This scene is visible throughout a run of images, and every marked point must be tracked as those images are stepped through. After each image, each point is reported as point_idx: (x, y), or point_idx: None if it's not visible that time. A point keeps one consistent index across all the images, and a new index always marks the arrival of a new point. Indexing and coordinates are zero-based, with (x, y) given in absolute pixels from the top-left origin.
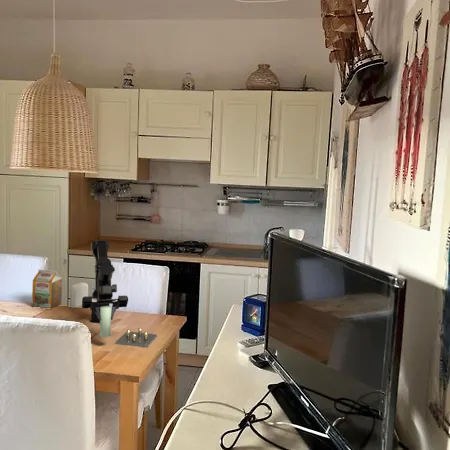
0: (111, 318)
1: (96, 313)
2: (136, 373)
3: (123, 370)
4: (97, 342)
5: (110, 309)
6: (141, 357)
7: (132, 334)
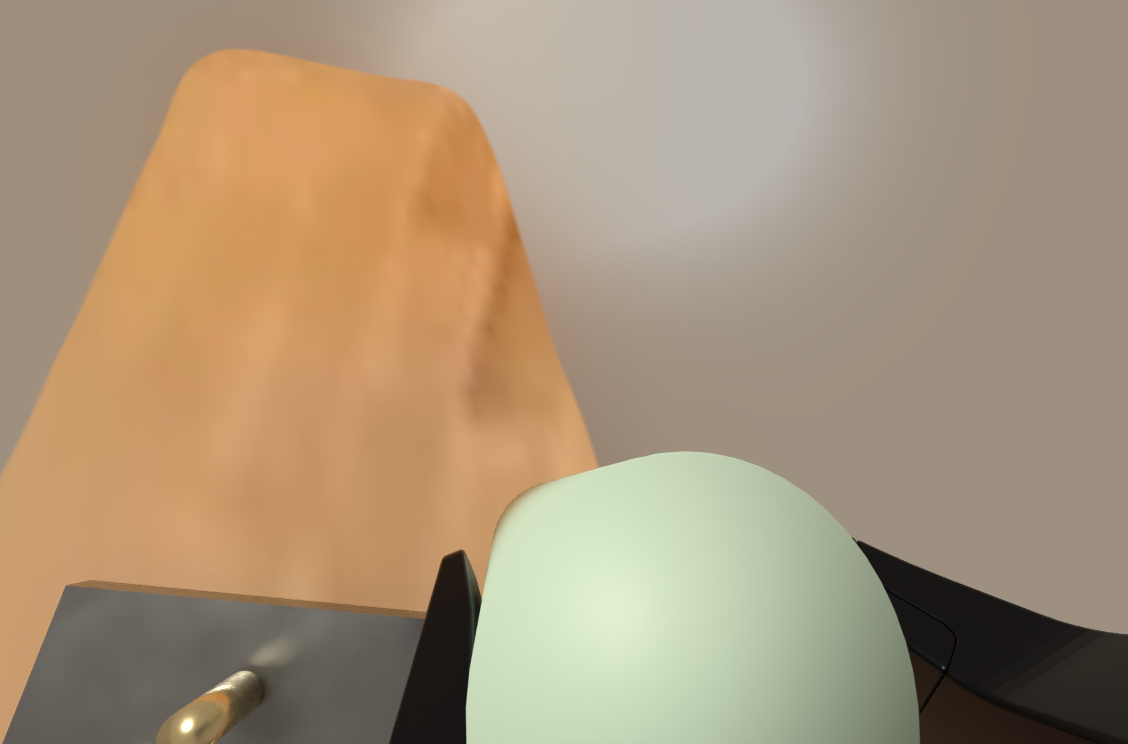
0: (464, 558)
1: None
2: (208, 58)
3: (305, 96)
4: None
5: (488, 595)
6: (166, 318)
7: (209, 717)
